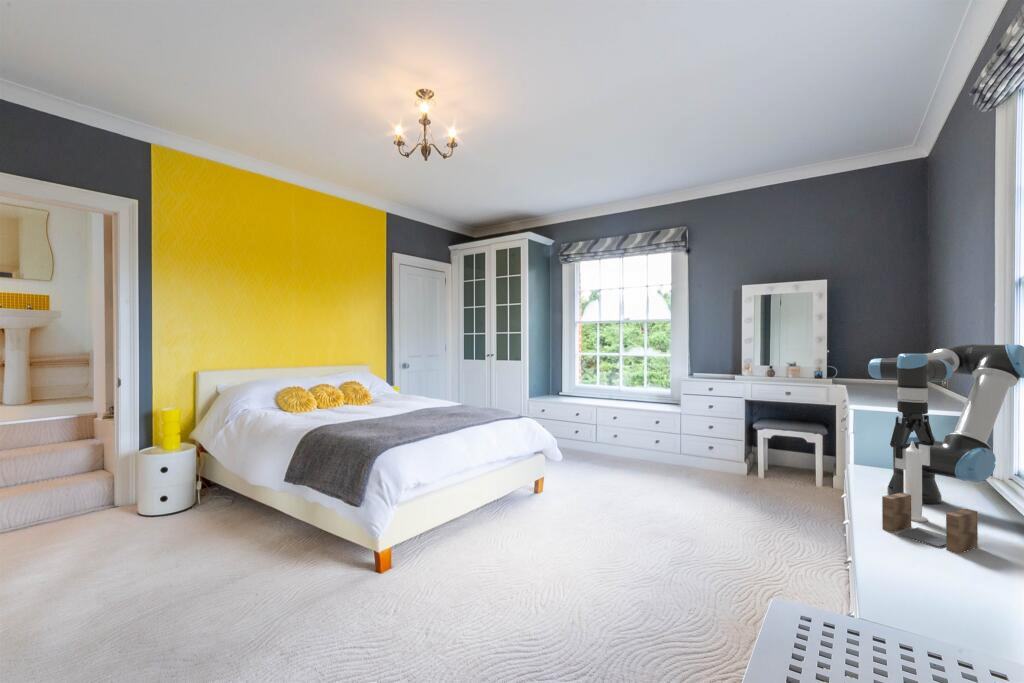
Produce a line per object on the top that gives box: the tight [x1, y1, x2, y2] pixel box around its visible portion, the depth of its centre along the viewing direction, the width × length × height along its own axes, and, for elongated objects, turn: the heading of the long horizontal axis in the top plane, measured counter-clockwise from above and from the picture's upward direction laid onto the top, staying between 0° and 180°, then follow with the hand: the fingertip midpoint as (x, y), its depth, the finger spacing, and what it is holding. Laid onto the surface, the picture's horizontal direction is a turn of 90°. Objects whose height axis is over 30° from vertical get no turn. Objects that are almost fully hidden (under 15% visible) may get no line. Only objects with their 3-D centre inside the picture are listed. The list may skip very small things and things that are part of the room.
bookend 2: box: [945, 508, 979, 554], centre depth 127 cm, size 10×2×10 cm, turn 113°
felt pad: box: [896, 527, 946, 549], centre depth 134 cm, size 11×10×1 cm
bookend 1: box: [881, 493, 912, 533], centre depth 142 cm, size 10×2×10 cm, turn 113°
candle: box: [904, 441, 929, 523], centre depth 151 cm, size 7×7×25 cm
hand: (912, 466), depth 151 cm, fingers open, 12 cm apart
